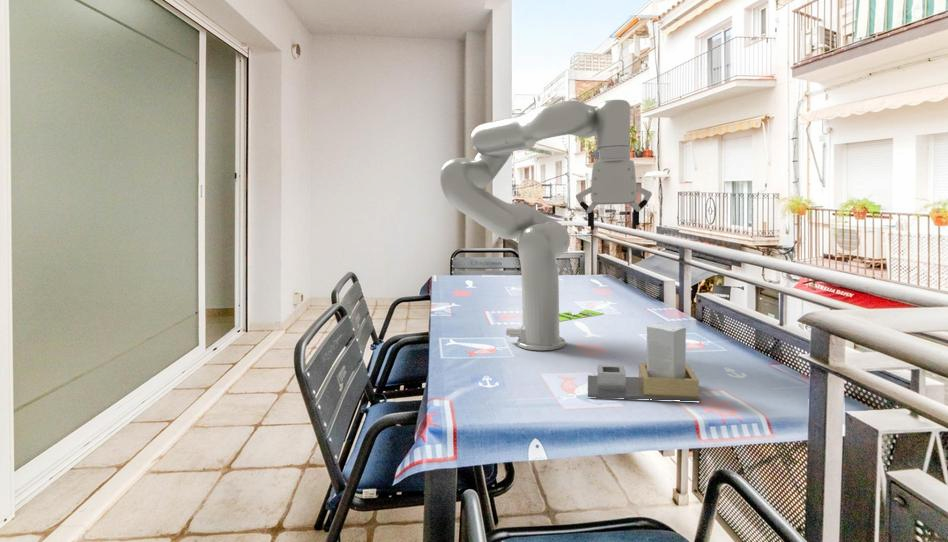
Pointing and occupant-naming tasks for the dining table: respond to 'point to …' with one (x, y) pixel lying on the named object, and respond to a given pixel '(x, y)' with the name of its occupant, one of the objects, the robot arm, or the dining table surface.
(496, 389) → the dining table surface
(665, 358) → the skincare box
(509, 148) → the robot arm
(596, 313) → the door hanger
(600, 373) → the plate
